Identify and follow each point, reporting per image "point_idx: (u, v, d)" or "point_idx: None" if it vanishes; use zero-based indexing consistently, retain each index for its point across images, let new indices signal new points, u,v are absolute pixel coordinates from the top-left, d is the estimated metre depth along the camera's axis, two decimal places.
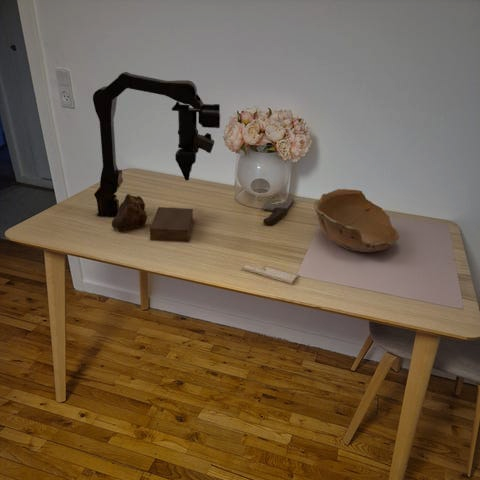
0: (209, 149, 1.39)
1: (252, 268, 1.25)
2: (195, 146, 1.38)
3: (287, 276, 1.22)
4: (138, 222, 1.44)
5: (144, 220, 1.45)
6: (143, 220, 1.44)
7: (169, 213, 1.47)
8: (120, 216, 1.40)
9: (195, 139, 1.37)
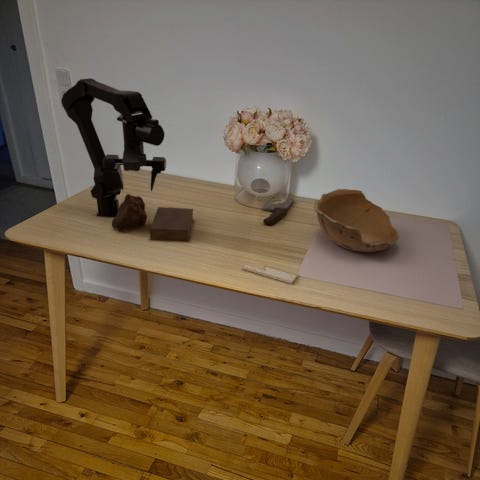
0: (123, 166, 1.28)
1: (252, 268, 1.25)
2: None
3: (287, 276, 1.22)
4: (138, 222, 1.44)
5: (144, 220, 1.45)
6: (143, 220, 1.44)
7: (169, 213, 1.47)
8: (120, 216, 1.40)
9: None
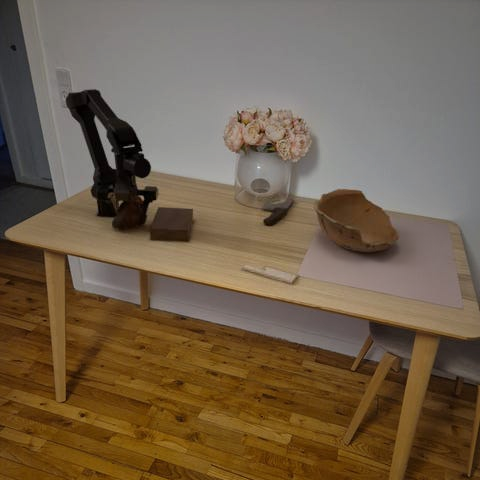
0: (114, 196, 1.32)
1: (252, 268, 1.25)
2: None
3: (287, 276, 1.22)
4: (138, 221, 1.44)
5: (144, 219, 1.45)
6: (143, 219, 1.44)
7: (169, 213, 1.47)
8: (120, 215, 1.40)
9: (116, 182, 1.34)
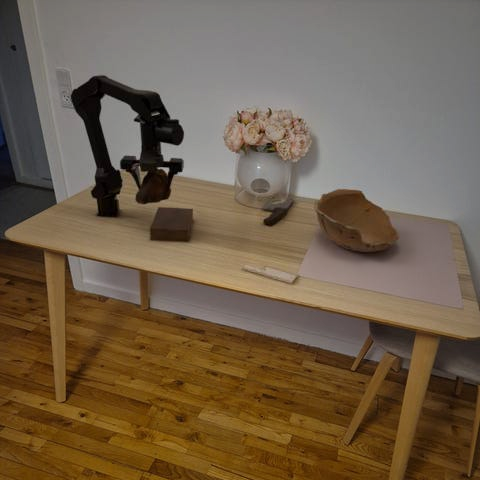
0: (140, 167, 1.27)
1: (252, 268, 1.25)
2: None
3: (287, 276, 1.22)
4: (162, 195, 1.39)
5: (168, 193, 1.40)
6: (168, 193, 1.40)
7: (169, 213, 1.47)
8: (144, 188, 1.35)
9: (141, 152, 1.29)
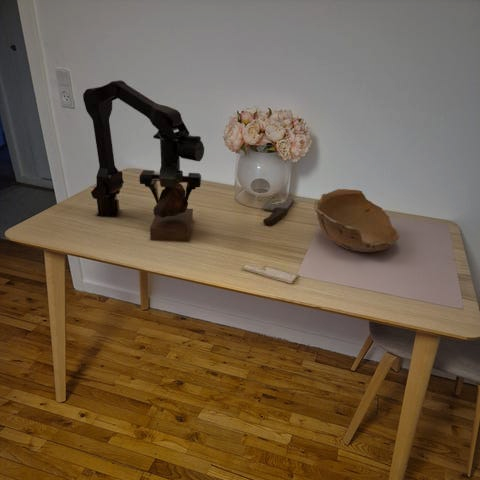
0: (160, 182, 1.30)
1: (252, 268, 1.25)
2: None
3: (287, 276, 1.22)
4: (179, 209, 1.42)
5: (185, 207, 1.43)
6: (185, 207, 1.42)
7: None
8: (162, 202, 1.38)
9: (160, 168, 1.32)
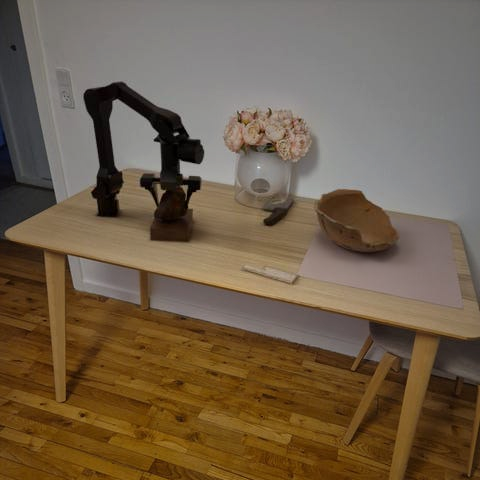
0: (160, 185, 1.30)
1: (252, 268, 1.25)
2: None
3: (287, 276, 1.22)
4: (180, 212, 1.42)
5: (185, 210, 1.43)
6: (185, 210, 1.43)
7: None
8: (163, 206, 1.38)
9: None
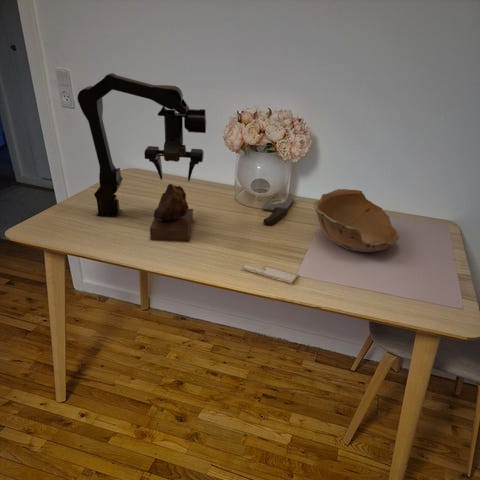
0: (164, 156, 1.36)
1: (252, 268, 1.25)
2: None
3: (287, 276, 1.22)
4: (180, 212, 1.42)
5: (185, 210, 1.43)
6: (185, 210, 1.43)
7: None
8: (163, 206, 1.38)
9: (164, 143, 1.38)
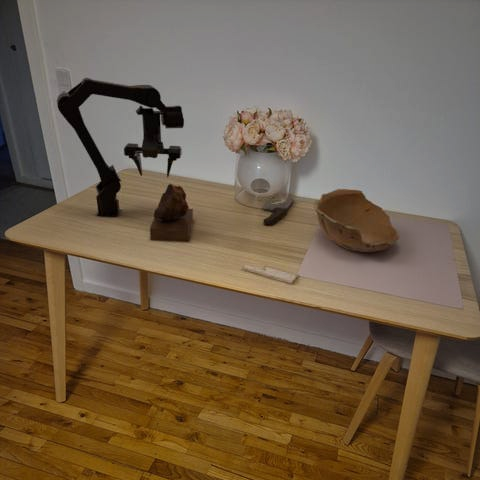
0: (142, 153, 1.41)
1: (252, 268, 1.25)
2: None
3: (287, 276, 1.22)
4: (180, 212, 1.42)
5: (185, 210, 1.43)
6: (185, 210, 1.43)
7: None
8: (163, 206, 1.38)
9: (143, 140, 1.43)
